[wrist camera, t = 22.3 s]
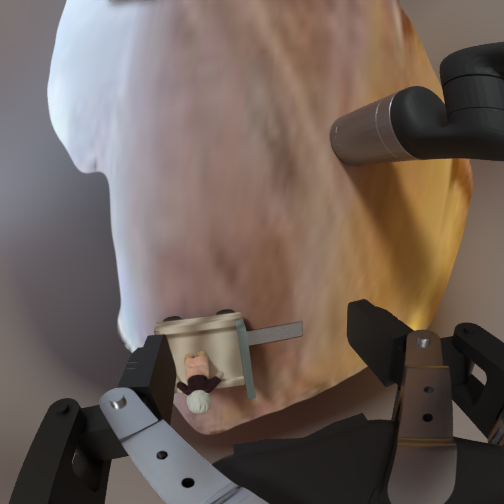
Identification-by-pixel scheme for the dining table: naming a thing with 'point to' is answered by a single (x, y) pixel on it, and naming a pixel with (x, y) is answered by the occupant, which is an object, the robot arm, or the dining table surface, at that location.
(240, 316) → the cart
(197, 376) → the grandmother figurine
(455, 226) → the dining table surface
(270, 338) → the strip
